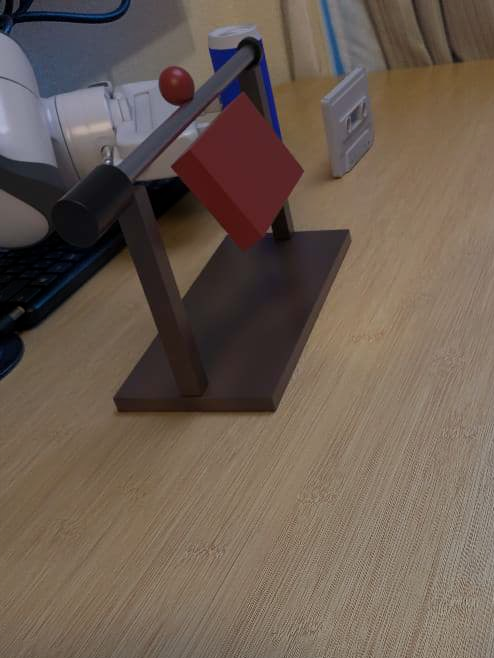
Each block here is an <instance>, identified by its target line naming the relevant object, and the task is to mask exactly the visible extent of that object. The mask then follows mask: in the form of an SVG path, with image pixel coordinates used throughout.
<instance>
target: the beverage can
mask: <svg viewBox="0 0 494 658" xmlns="http://www.w3.org/2000/svg"><path fill="white" fill-rule="evenodd" d="M207 35H208V36H207V48H208V53H209V56H210V60H211V65H212V69H213V74H215V73H216V72H217V71H218V70H219V69H220V68H221V67H222V66H223V65H224V64H225V63H226V62H227V61H228V60H230V59H231V58H232V57H233V56H234V55H235V54H236V53H237V46H238V44H239V42H240V41H241V40H242V39H243V38H245V37H249V36H250V37H254V38H256V39H257V40H258V41H259V42H260V43H261V45H262V48H263V58H262V60H261V61H260V62H259V63H258V64H260V67H261V72H262V77H263V81H264V86H265V91H266V96H267V101H268V106H269V110H270V115H271V120H272V125H273V130H274V132H275V133H276V134H277V136H278V137H279V138H280V140H281V141H282V142H283V137H282V131H281V127H280V122H279V117H278V112H277V106H276V101H275V97H274V92H273V88H272V82H271V77H270V72H269V68H268V62H267V57H266V51H265V48H264V42H263V39H262V38H263V37H262V35H261V33H260V31H259V29H258V27H257V26H256V24H254V23H248V22H247V23H234V24H229V25H224V26H220V27H217V28H214V29H212V30H210V31H209V32H208V34H207ZM240 94H241V91H240V87H239V82H238V78H236V79H235V80H234V81H233V82H232V83H231V84H230V85H229V86H228V87H227V88H226V89H225V90H224V91H223V92H222V93H221V94H220V98H221V102H222V106H223V109H224V108H225V107H226V106H227V105H228V104H230V103H231V102H232V101H233V100H234V99H235V98H236V97H237V96H238V95H240ZM283 143H284V142H283Z"/></svg>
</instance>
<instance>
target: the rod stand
mask: <svg viewBox="0 0 494 658" xmlns="http://www.w3.org/2000/svg"><path fill="white" fill-rule="evenodd" d="M237 78H238V82H239V87H240V91H241V93H242V92H244V93H245V94H246V95H247V97H248V98H249V99H250V100H251V102H252V103H253V104H254V106H255V107H256V108H257V110H258V111H259V112H260V113H261V115H262V116H263V117H264V119H265V120H266V121H267V123H268V124H269V125H270V127H271V128H272V129H273V125H272V120H271V115H270V110H269V106H268V101H267V96H266V91H265V86H264V81H263V77H262V72H261V67H260V64H253V65H248V66H247V67H246V68H245V69H244V70H243V71H242V73H241V74H240V75H239V76H238V77H237ZM133 188H134V199H133V202H132V204H131V205H130V206H129V207H128V208H127V209H126V210H125V212H124V213H123V214H122V215H121V216H120V217H119V218H118V219H117V221H118V223H119V227H120V229H121V231H122V233H123V237H124V241H125V243H126V246H127V248H128V252H129V254H130V257H131V259H132V263H133V265H134V268H135V271H136V274H137V276H138V279H139V283H140V285H141V288H142V291H143V293H144V296H145V299H146V302H147V305H148V307H149V310H150V313H151V317H152V319H153V321H154V324H155V327H156V330H157V334H156V335H155V337H154V338H153V340H152V341H151V343H150V344H149V345H148V347H147V348H146V350H145V351H144V353H143V354H142V356H141V357H140V359H138V361H137V363H136V364H135V366H134V367H133V369H132V370H131V371H130V373H129V375H128V376H127V378H125V380H124V382H122V384H121V385H120V387H119V388H118V390H117V391H116V393H115V394H114V396H113V397H112V400H113V403H114V405H115V408H116V410H117V412H120V413H123V412H127V413H128V412H135V413H137V412H141V413H142V412H144V413H145V412H146V413H147V412H276V410H277V408H278V406H279V404H280V402H281V400H282V398H283V395H284V393H285V390H286V388H287V386H288V384H289V382H290V379H291V377H292V374H293V373H294V370H295V368H296V365H297V363H298V361H299V359H300V358H301V357H300V356H301V354H302V352H303V350H304V348H305V346H306V343H307V341H308V339H309V337H310V334H311V332H312V330H313V327H314V326H315V323H316V321H317V318H318V317H319V315H320V312H321V310H322V307H323V305H324V303H325V302H326V299H327V297H328V295H329V293H330V290H331V288H332V286H333V283H334V282H335V279H336V277H337V274H338V272H339V270H340V267H341V265H342V263H343V261H344V259H345V257H346V254H347V252H348V249H349V247H350V246H351V242H352V237H351V230H350V229H349V228H343V229H342V228H341V229H322V230H320V229H319V230H299V231H298V230H297V231H296V230H295V226H294V221H293V217H292V213H291V208H290V202H289V198H288V199H287V200H286V202H285V203H284V205H283V207H282V208H281V210H280V211H279V213H278V215H277V216H276V218H275V219H274V221H273V223H272V224H271V226H270V228H271V232H266V234H265V235H264V237H263V238H262V239H261V240H259V241H258V242H257V243H255V244H254V245H253V246H251V247H250V248H249V249H247V250H246V251H245V252H243V251H242V250H241V248H240V247H239V246H238V245H237V244H236V243H235V242H234V240H233V239H232V238H231V237H230V236H229V235H228V234H226V235H225V236H224V238H223V239H222V241H221V242H220V244H219V245H218V247H217V248H216V249H215V251H214V252H213V253H212V255H211V257H210V258H209V260H208V261H207V262H206V263H205V265H204V267H203V268H202V270H201V271H200V273H199V274H198V275H197V277H196V278H195V280H194V281H193V282H192V284H191V285H190V287H189V288H188V290H187V291H186V292H185V294H184V295H183V297H182V296H181V293H180V290H179V287H178V283H177V281H176V277H175V274H174V272H173V268H172V266H171V263H170V258H169V256H168V253H167V249H166V247H165V244H164V241H163V237H162V234H161V230H160V228H159V226H158V222H157V219H156V216H155V213H154V210H153V206H152V203H151V200H150V197H149V193H148V191H147V187H146V185H144V184H142V185H133Z"/></svg>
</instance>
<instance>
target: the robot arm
mask: <svg viewBox="0 0 494 658" xmlns="http://www.w3.org/2000/svg"><path fill="white" fill-rule="evenodd" d="M158 81H159V79H152V80H151V79H150V80H143V81H142V80H141V81H135V82H134V81H133V82H126V83H122V84H119V85H116V86H115V87H113V84H112V82H111V81H109V80H102V81H99V82H97V81H96V82H93V83H91V84H90V85H88V86H87V87H86V88H82V89H77V90H74V91H69V92H64V93H58V94H54V95H52V96H50V97H41V95H40V90H39V87H38V83H37V79H36V75H35V72H34V69H33V66H32V64H31V63H30V60H29V59H28V56H27V55H26V52H25V50H24V48H23V47H22V45H21V44H20V43H19V42H18V41H17V39H14V38H13V37H12V36H11V35H10V34H9V33H7V32H6V31H4V30H2V29H0V250H25V249H29V248H32V247H35V246H37V245H39V244H41V243H42V242H45V241H46V240H47V239H48V238H49V237H51V235H52V234H53V233H54V232H56V230H55V228H54V226H53V224H52V220H51V211H52V207H53V206H54V204H55V203H56V202H57V201H58V200H60V199H61V198H62V197H63V196H64V195H65V194H66V193H67V192H68V191H69V190H71V189H72V188H73V187H74V186H75V185H76V184H77V183H78V182H79V181H81V180H82V179H83V178H84V177H85V176H86V175H87V174H88V173H89V172H90V171H92V170H93V169H94V168H95V167H96V166H98V165H101V164H109V165H113V166H115V167H117V166H118V165H119V164H120V163H121V162H122V161H123V160H124V159H125V158H126V157H127V156H128V155H129V154H130V153H131V152H132V151H133V150H135V149H136V148H137V147H138V146H139V145H140V144H141V143H142V142H143V141H144V140H145V139H146V138H147V137H148V136H149V135H150V134H151V133H152V132H154V131H155V130H156V129H157V128H158V127H159V126H160V125H161V124H162V123H163V122H164V121H165V120H166V119H167V118H168V117H169V116H170V115H171V114H173V113H174V112H175V111H176V110H177V109H178V108H179V107H180V106H174V105H172V104H170V103H168V102H167V101H166V100H165V99H164V98H163V97H162V95H161V93H160V91H159V86H158ZM196 91H197V90H195V92H196ZM195 92H194V93H195ZM222 110H223V106H222V102H221V98H220V95H219V96H218V97H217V98H216V99H215V100H214V101H213V102H212V103H211V104H210V105H209V106H208V107H207V108H206V109H205V110H204V111H203V112H202V113H201V114H200V115H199V116H198V117H197V118H200V117H205V116H206V115H207V114H215V113H221V112H222ZM197 118H196V119H195V120H194V121H193V122H192V123H191V124H190V126H189V127H188V128H187V129H186V130H185V131H184V132H183V133H182V134H181V135H180V136H179V137H178V138H177V139H176V140H175V141H174V142H173V143H172V144H171V145H170V146H169V147H168V148H167V149H166V150H165V151H164V152H163V153H162V154H161V155H160V156H159V157H158V158H157V159H156V160H155V161H154V162H153V163H152V164H151V165H150V166H149V167H148V168H147V169H146V170H145V171H144V172H143V173H142V174H141V175H140V176H139V177H138V179H137V180H136V181H135V182H148V181H155V180H164V179H170V178H176V177H179V176H178V175H177V174H176V173H175V172H174V171H173V169H172V168H171V165H172V164H173V163H174V162H175V161H176V160H177V159H178V158H179V156H180V155H181V154H182V153H183V152H184V151H185V150H186V149H187V148H188V147H189V146H190V145H191V144H192V143H193V141H194V140H195V139H196V138H197V137H198V136H199V135H200V134H201V133H202V132H203V131H204V130H205V129H206V128H207V127H208V125H209V124H210V123H211V122H209V121H205V122H200V123H197ZM135 182H134V183H133V184H132V185H134V184H135Z"/></svg>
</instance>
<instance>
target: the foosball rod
mask: <svg viewBox="0 0 494 658" xmlns="http://www.w3.org/2000/svg"><path fill="white" fill-rule="evenodd" d="M262 58H263V48H262V45H261V43H260V42H259V41H258V40H257V39H256V38H254V37H250V36H249V37H245V38H243V39H242V40H241V41H240V42H239V44H238V46H237V53H236V54H235V55H234V56H233V57H232V58H231V59H230V60H228V61H227V62H226V63H225V64H224V65H223V66H222V67H221V68H220V69H219V70H218V71H217V72H216V73H213V75H211V76H210V78H208V79H207V80H206V81H205V82H204V83H203V84H202V85H201V86H200V87H199V88H198V89H196V87H195V82H194V79H193V77H192V75H191V74H190V73H189V72H188V71H187V70H186V69H184V68H183V67H181V66H177V65H171V66H168V67H166V68H164V69H163V70H162V71H161V73H160V75H159V77H158V80H159V81H158V86H159V91H160V93H161V95H162V97H163V98H164V99H165V100H166V101H167V102H168V103H170V104H172V105H174V106H180V107H179V108H178V109H177V110H176V111H175V112H174V113H173V114H171V115H170V116H169V117H168V118H167V119H166V120H165V121H164V122H163V123H162V124H161V125H160V126H159V127H158V128H157V129H156V130H155V131H154V132H152V133H151V134H150V135H149V136H148V137H147V138H146V139H145V140H144V141H143V142H142V143H141V144H140V145H139V146H138V147H137V148H136V149H135V150H133V151H132V152H131V153H130V154H129V155H128V156H127V157H126V158H125V159H124V160H123V161H122V162H121V163H120V164H119V165H118V166H117V167H115V166H113V165H109V164H101V165H98V166H96V167H95V168H94V169H93V170H92V171H90V172H89V173H88V174H87V175H86V176H85V177H84V178H83V179H82V180H81V181H79V182H78V183H77V184H76V185H75V186H74V187H73V188H72V189H71V190H69V191H68V192H67V193H66V194H65V195H64V196H63V197H62V198H61V199H60V200H58V201H57V202H56V203H55V204H54V206H53V207H52V211H51V220H52V224H53V226H54V228H55V232H56V233H57V234H58V235H59V236H60V238H61V239H63V240H64V241H65V242H66V243H68V244H70V245H71V246H74V247H77V248H88V247H91V246H94V245H95V244H96V243H97V242H98V241H99V239H100V238H101V237H102V236H104V234H105V233H106V232H107V231H108V230H109V229H110V227H112V226H113V224H114V223H116V221H118V218H119V217H120V216H121V215H122V214H123V213H124V212H125V210H126V209H127V208H128V207H129V206H130V205H131V204H132V202H133V199H134V188H133V186H134V184H135V183H134V182H137V181H136V180H137V179H138V177H139V176H140V175H141V174H142V173H143V172H144V171H145V170H146V169H147V168H148V167H149V166H150V165H151V164H152V163H153V162H154V161H155V160H156V159H157V158H158V157H159V156H160V155H161V154H162V153H163V152H164V151H165V150H166V149H167V148H168V147H169V146H170V145H171V144H172V143H173V142H174V141H175V140H176V139H177V138H178V137H179V136H180V135H181V134H182V133H183V132H184V131H185V130H186V129H187V128H188V127H189V126H190V124H191V123H192V122H193V121H194V120H195V119H196V120H197V119H198V118H199V117H198V116H199V115H200V114H201V113H202V112H203V111H204V110H205V109H206V108H207V107H208V106H209V105H210V104H211V103H212V102H213V101H214V100H215V99H216V98H217V97H218V96H219V95H220V94H221V93H222V92H223V91H224V90H225V89H226V88H227V87H228V86H229V85H230V84H231V83H232V82H233V81H234V80H235V79H236V78H237V77H238V76H239V75H240V74H241V73H242V71H243V70H244V69H245V68H246V67H247V66H248V65H253V64H258V63H259V62H260V61H261V60H262ZM195 91H196V92H195ZM194 92H195V93H194ZM209 123H210V124H209V125H208V127H207V128H206V129H205V130H204V131H203V132H202V133H201V134H200V135H199V136H198V137H197V138H196V139H195V140H194V141H193V143H192V144H191V145H190V146H189V147H188V148H187V149H186V150H185V151H184V152H183V153H182V154H181V155H180V156H179V158H178V159H177V160H176V161H175V162H174V163H173V164H172V165H171V168H172V169H173V171H174V172H175V173H176V174H177V175H178V176H177V177H178V178H179V179H180V180H181V181H182V182H183V183H184V185H185V186H186V187H187V188H188V189H189V190H190V192H191V193H192V194H193V196H195V198H196V199H197V200H198V201H199V202H200V203H201V205H203V207H204V208H205V209H206V210H207V211H208V213H209V214H210V215H211V216H212V217H213V218H214V219H215V221H216V222H217V223H218V225H219V226H221V228H222V229H223V230H224V232H226V234H227V235H229V236H230V237H231V238H232V239H233V240H234V242H235V243H236V244H237V245H238V246H239V247H240V248H241V250H242V251H243V252H245V251H246V250H247V249H249V248H250V247H251V246H253V245H254V244H255V243H257V242H258V241H259V240H261V239H262V238H263V237H264V235H265V234H266V233H268V231H269V229H270V228H271V224H272V223H273V221H274V219H275V218H276V216H277V215H278V213H279V211H280V210H281V208H282V207H283V205H284V203H285V202H286V200H287V199H288V200H289V197H290V196H291V193H292V192H293V190H294V189H295V187H296V186H297V184H298V182H299V181H300V179H301V178H302V176H303V174H304V173H305V170H304V168H303V167H302V166H301V164H300V162H299V161H297V159H296V158H295V156H294V155H293V154H292V152H291V151H290V150H289V149H288V148H287V146H286V144H285V143H284V142H282V141H283V140H282V141H281V140H280V138H279V137H278V136H277V134H276V133H275V132H274V130H273V129H272V128H271V127H270V125H269V124H268V123H267V121H266V120H265V119H264V117H263V116H262V115H261V113H260V112H259V111H258V110H257V108H256V107H255V106H254V104H253V103H252V102H251V100H250V99H249V98H248V97H247V95H246V94H245V93H244V92H242V93H241V94H240V95H238V96H237V97H236V98H235V99H234V100H233V101H232V102H231V103H230V104H228V105H227V106H226V107H225V108H224V109H223V110H222V112H219V113H218V114H217V116H216V117H214V119H213V120H211V122H209ZM133 183H134V184H133Z"/></svg>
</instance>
